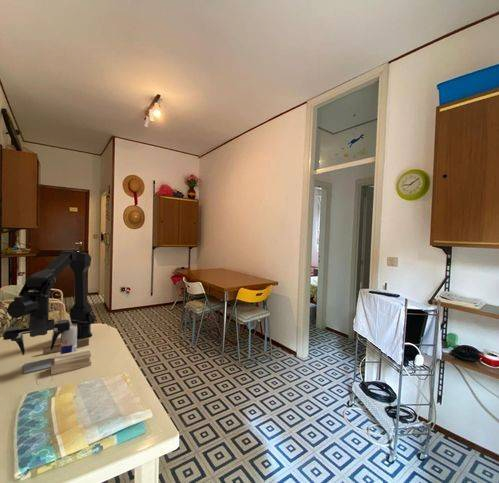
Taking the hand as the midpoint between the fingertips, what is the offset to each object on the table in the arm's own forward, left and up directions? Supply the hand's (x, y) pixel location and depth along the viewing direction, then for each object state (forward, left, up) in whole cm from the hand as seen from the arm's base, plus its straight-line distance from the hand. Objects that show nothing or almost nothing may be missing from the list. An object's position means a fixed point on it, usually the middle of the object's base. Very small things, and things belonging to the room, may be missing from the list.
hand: (37, 352), depth 98 cm
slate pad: (0, 0, -5) cm, 5 cm away
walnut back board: (-11, +10, -5) cm, 16 cm away
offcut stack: (+7, +10, -5) cm, 13 cm away
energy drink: (-3, +10, -6) cm, 12 cm away
